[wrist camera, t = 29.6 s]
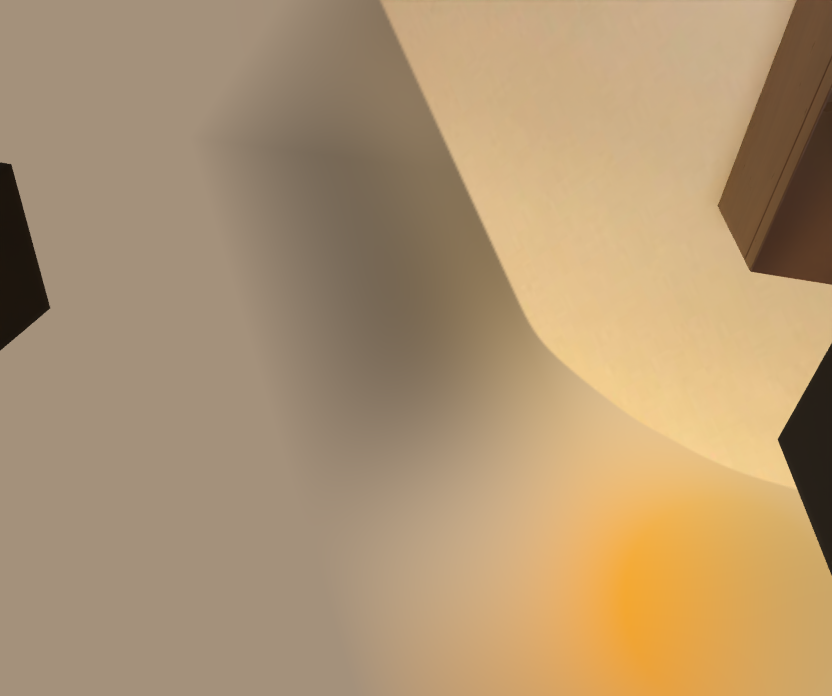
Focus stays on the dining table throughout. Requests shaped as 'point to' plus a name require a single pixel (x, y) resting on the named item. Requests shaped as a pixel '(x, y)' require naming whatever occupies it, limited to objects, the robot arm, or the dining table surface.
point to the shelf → (789, 158)
